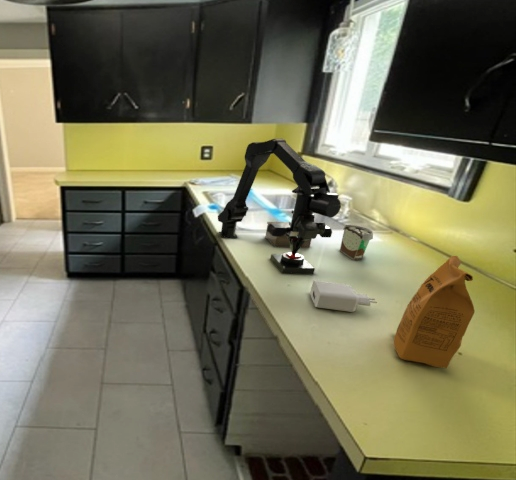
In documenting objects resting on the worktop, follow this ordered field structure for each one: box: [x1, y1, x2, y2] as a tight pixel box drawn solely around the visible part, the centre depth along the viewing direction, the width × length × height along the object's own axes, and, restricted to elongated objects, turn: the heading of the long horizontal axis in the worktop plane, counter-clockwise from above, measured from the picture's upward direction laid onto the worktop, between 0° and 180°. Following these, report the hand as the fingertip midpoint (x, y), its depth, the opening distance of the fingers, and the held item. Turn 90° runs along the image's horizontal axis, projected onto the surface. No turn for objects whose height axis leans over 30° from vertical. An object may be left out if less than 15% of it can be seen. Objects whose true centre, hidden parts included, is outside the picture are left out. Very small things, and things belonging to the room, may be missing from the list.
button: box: [287, 251, 300, 259], centre depth 123 cm, size 4×4×2 cm
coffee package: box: [393, 255, 475, 369], centre depth 77 cm, size 10×12×22 cm
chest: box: [264, 224, 313, 248], centre depth 145 cm, size 11×13×6 cm
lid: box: [266, 221, 290, 227], centre depth 144 cm, size 12×13×1 cm
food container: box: [339, 224, 374, 261], centre depth 132 cm, size 12×6×10 cm, turn 179°
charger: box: [309, 280, 378, 313], centre depth 100 cm, size 5×9×15 cm
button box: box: [269, 251, 316, 275], centre depth 124 cm, size 12×10×4 cm
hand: (293, 254), depth 122 cm, fingers closed, pressing on button
